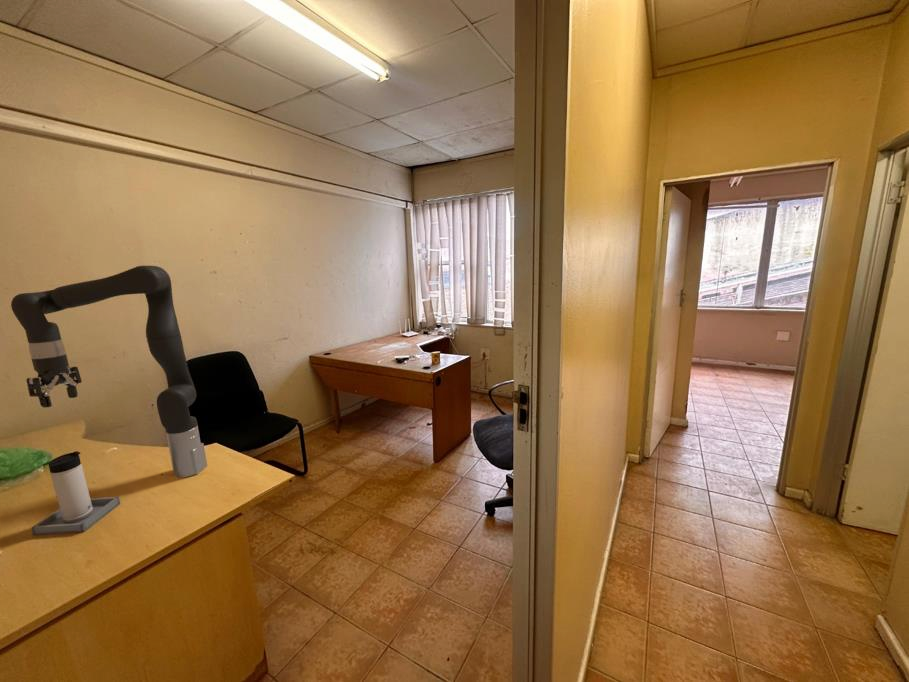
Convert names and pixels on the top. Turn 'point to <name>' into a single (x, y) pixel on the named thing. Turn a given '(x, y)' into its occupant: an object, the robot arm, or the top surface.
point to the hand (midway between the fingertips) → (60, 402)
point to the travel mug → (71, 487)
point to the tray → (57, 525)
